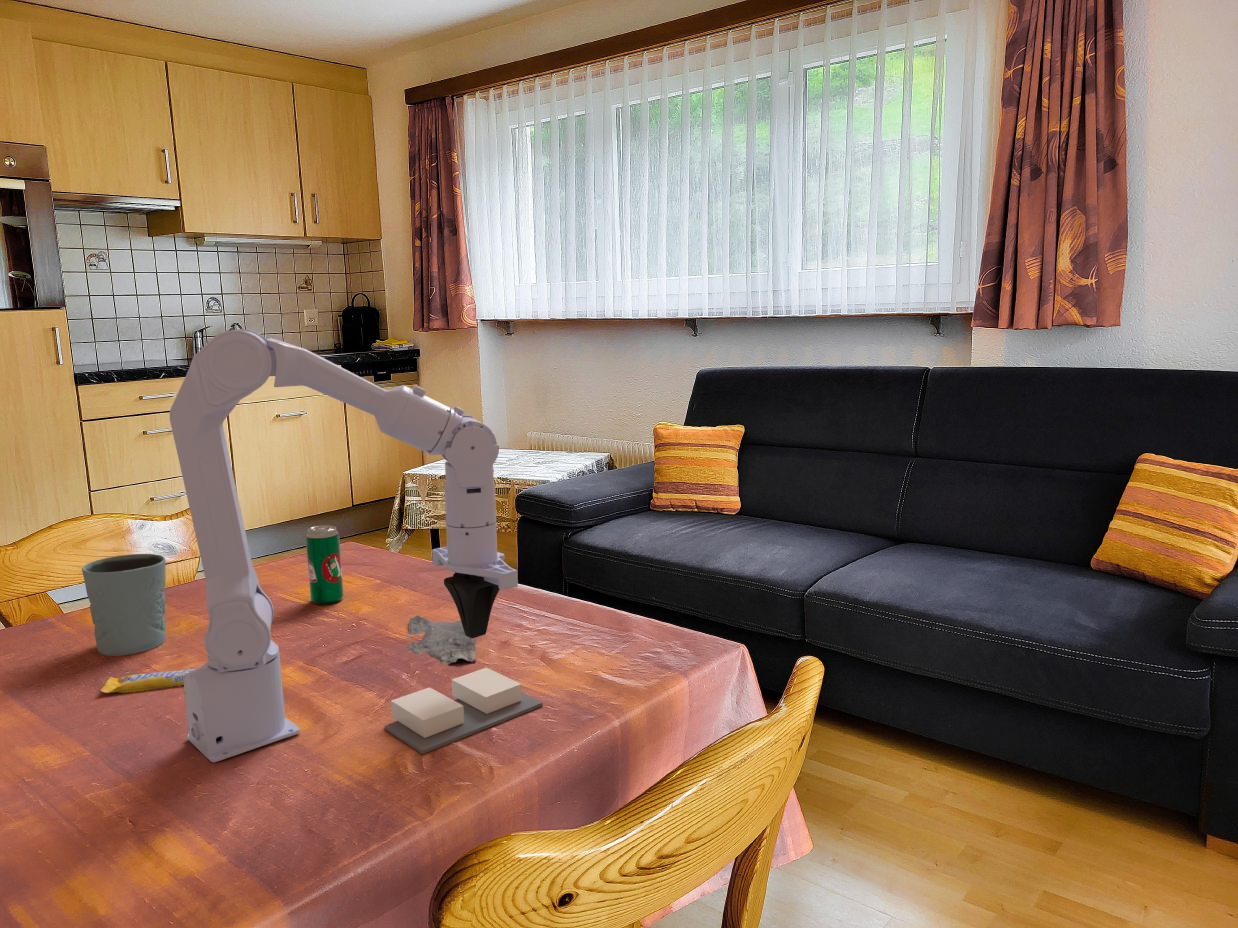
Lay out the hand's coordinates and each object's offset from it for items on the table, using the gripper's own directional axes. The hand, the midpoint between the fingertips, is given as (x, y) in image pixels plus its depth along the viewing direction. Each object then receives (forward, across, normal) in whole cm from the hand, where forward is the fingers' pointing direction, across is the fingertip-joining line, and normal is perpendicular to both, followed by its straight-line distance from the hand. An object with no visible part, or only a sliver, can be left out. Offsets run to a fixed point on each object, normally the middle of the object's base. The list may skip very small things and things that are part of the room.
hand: (475, 634), depth 104 cm
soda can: (+8, +48, -4) cm, 49 cm away
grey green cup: (+8, +50, +24) cm, 56 cm away
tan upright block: (+6, +2, 0) cm, 7 cm away
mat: (+8, -3, +4) cm, 9 cm away
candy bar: (+9, +32, +24) cm, 41 cm away
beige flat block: (+6, +2, +8) cm, 10 cm away
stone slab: (+9, +20, -7) cm, 23 cm away
